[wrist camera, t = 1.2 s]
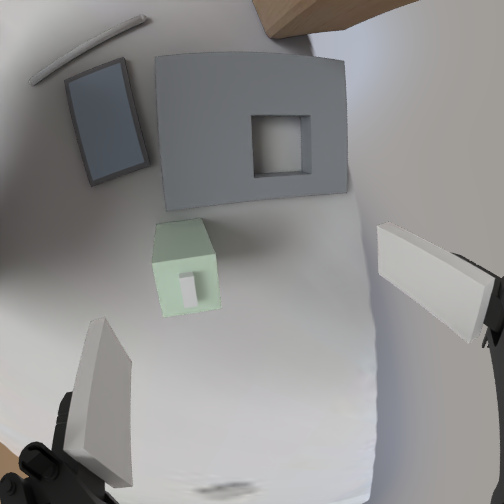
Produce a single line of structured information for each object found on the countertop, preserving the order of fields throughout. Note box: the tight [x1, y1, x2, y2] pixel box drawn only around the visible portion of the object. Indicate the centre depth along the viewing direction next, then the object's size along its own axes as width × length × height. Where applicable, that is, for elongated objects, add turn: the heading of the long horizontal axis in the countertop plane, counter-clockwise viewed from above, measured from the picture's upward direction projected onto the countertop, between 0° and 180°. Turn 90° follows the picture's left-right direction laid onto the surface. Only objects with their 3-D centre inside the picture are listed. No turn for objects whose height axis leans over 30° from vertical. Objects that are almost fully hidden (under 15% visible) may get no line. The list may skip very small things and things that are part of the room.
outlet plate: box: [155, 52, 348, 211], centre depth 26 cm, size 18×14×2 cm
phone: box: [64, 57, 151, 187], centre depth 23 cm, size 6×11×1 cm, turn 13°
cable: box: [29, 15, 146, 86], centre depth 19 cm, size 13×1×1 cm, turn 113°
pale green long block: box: [152, 218, 222, 318], centre depth 25 cm, size 4×4×10 cm
